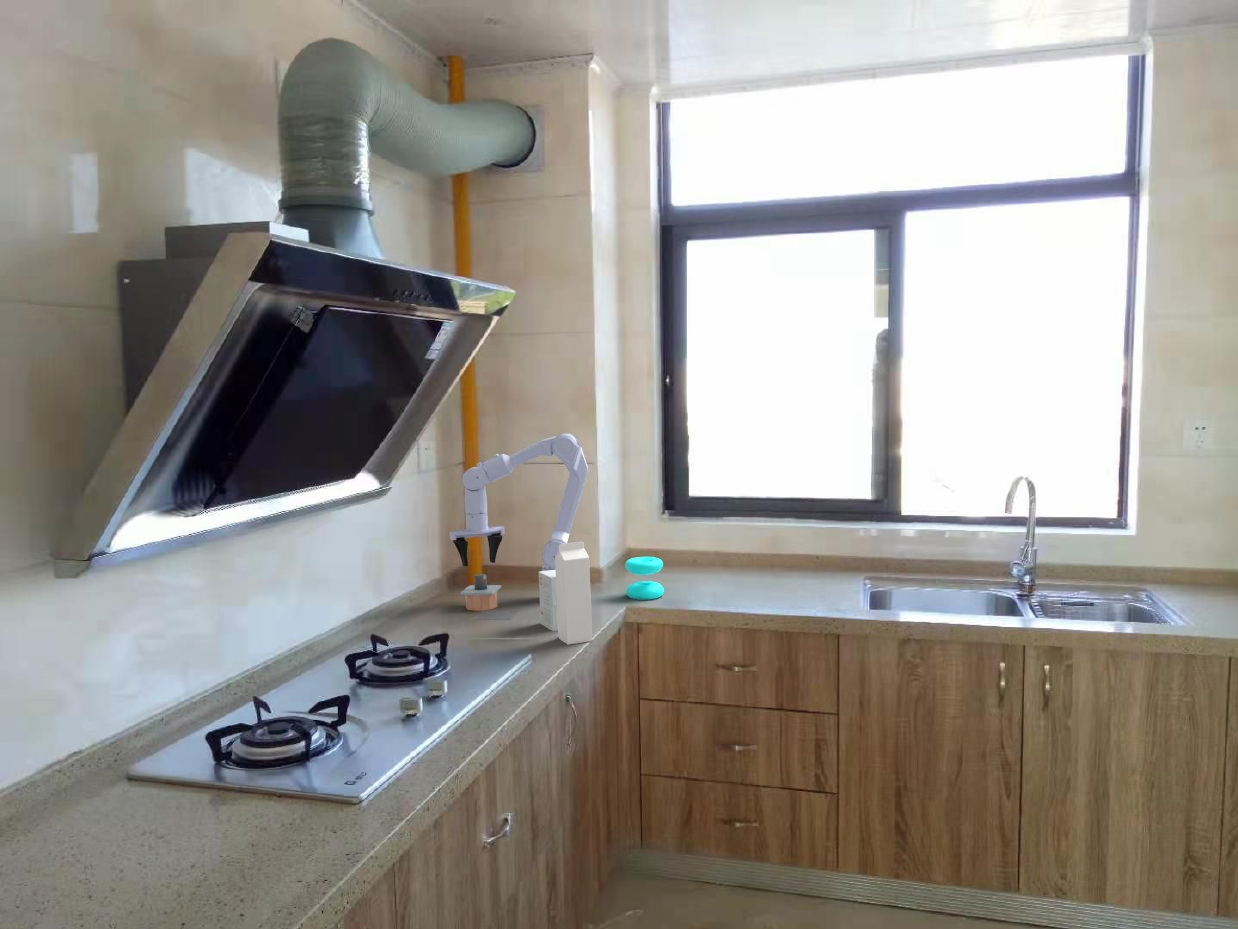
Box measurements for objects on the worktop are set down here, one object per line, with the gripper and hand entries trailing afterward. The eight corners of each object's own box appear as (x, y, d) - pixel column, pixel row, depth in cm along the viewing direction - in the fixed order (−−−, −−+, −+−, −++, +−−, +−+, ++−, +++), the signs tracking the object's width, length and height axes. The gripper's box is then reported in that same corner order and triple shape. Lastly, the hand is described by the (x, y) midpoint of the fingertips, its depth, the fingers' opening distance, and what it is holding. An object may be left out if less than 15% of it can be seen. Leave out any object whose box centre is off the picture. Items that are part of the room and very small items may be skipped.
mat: (519, 612, 239) (519, 610, 239) (510, 621, 230) (510, 619, 230) (485, 612, 241) (484, 610, 241) (474, 621, 232) (474, 619, 232)
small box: (577, 628, 221) (575, 573, 220) (552, 632, 219) (550, 577, 217) (564, 621, 229) (562, 568, 228) (539, 625, 226) (537, 571, 225)
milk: (592, 641, 210) (589, 543, 208) (566, 645, 208) (563, 546, 206) (582, 634, 216) (579, 539, 214) (557, 638, 214) (554, 541, 211)
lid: (501, 587, 248) (500, 572, 248) (492, 594, 240) (491, 578, 239) (470, 587, 249) (469, 572, 249) (460, 594, 241) (459, 579, 240)
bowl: (500, 604, 248) (499, 587, 248) (492, 612, 240) (491, 594, 240) (471, 604, 249) (470, 587, 249) (462, 612, 242) (461, 594, 241)
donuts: (624, 563, 246) (625, 556, 256) (625, 601, 247) (626, 592, 257) (663, 562, 246) (662, 555, 256) (664, 600, 247) (663, 591, 257)
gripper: (496, 508, 256) (498, 558, 257) (444, 514, 249) (447, 565, 250) (506, 511, 250) (508, 562, 251) (453, 516, 243) (456, 569, 244)
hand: (478, 564), depth 250 cm, fingers open, 7 cm apart
